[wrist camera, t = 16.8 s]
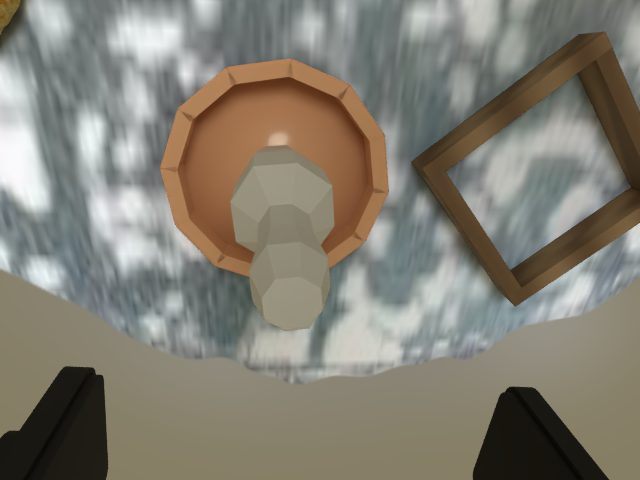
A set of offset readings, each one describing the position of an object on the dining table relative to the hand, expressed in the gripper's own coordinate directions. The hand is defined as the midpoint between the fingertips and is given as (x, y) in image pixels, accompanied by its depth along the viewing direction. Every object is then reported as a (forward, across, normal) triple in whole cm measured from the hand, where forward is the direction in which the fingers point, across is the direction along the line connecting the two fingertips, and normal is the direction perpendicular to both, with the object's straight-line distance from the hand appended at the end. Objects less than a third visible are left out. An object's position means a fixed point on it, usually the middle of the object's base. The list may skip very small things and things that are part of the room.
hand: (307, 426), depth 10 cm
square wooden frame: (+29, -23, -1) cm, 37 cm away
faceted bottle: (+28, 0, +1) cm, 28 cm away
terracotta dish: (+29, 0, +1) cm, 29 cm away
